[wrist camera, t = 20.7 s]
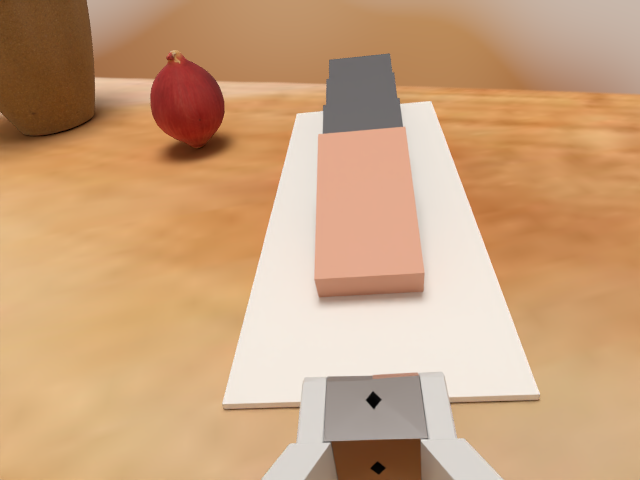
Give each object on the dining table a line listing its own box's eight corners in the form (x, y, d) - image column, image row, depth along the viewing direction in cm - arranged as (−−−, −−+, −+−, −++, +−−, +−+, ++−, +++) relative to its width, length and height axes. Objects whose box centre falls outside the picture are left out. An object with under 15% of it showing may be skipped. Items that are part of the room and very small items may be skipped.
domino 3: (320, 220, 28) (323, 105, 34) (324, 238, 29) (326, 124, 35) (414, 214, 27) (399, 98, 33) (413, 232, 28) (399, 117, 35)
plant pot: (147, 92, 59) (98, -68, 50) (99, 143, 47) (23, -56, 38) (25, 105, 60) (-44, -48, 52) (-53, 159, 48) (-161, -31, 39)
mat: (223, 409, 20) (222, 404, 20) (297, 116, 47) (297, 113, 47) (539, 399, 19) (540, 394, 19) (431, 104, 45) (431, 101, 45)
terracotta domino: (314, 279, 24) (318, 134, 30) (318, 297, 25) (321, 154, 31) (424, 272, 23) (405, 126, 29) (423, 291, 24) (405, 147, 30)
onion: (166, 141, 45) (138, 48, 41) (230, 128, 46) (209, 36, 42) (164, 167, 41) (132, 65, 36) (235, 153, 41) (212, 51, 37)
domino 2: (325, 175, 32) (326, 79, 38) (328, 192, 33) (329, 96, 39) (405, 168, 32) (394, 72, 38) (405, 186, 33) (394, 90, 39)
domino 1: (328, 141, 36) (329, 59, 42) (331, 157, 38) (331, 76, 44) (399, 135, 36) (389, 53, 42) (399, 152, 37) (390, 70, 43)
